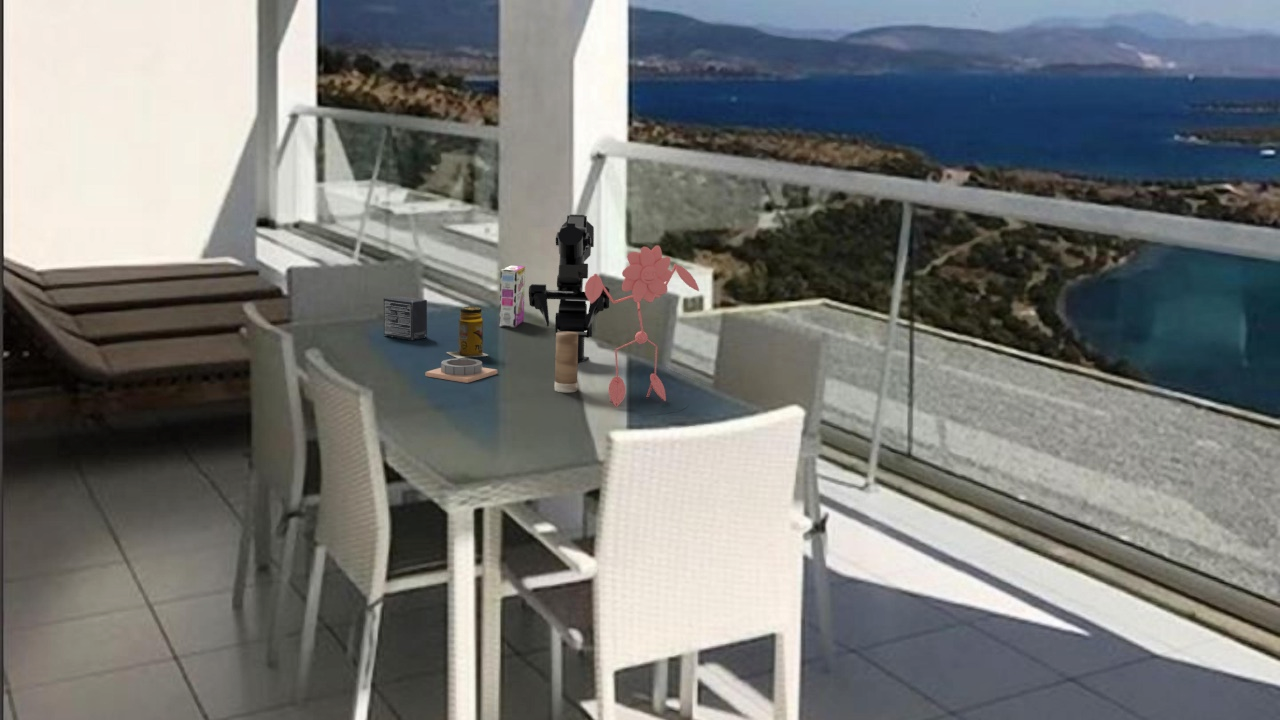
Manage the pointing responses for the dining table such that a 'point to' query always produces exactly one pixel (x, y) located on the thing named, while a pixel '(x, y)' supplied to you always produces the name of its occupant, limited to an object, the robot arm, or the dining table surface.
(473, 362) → the collar
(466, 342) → the condiment
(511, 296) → the candy bar box
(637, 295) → the figurine
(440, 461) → the dining table surface
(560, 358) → the brown cylinder
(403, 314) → the small box
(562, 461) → the dining table surface
